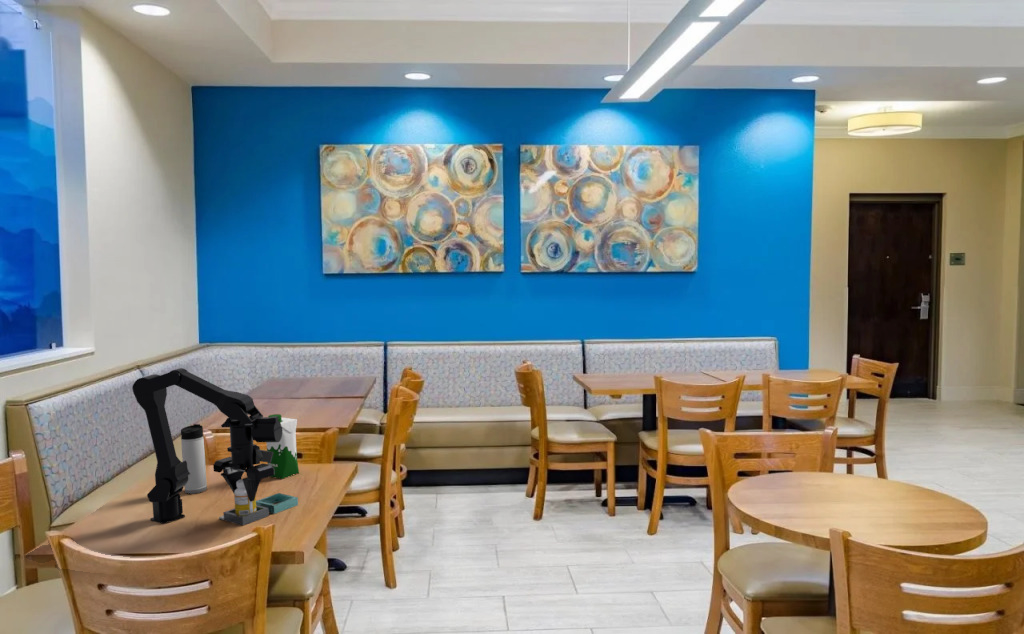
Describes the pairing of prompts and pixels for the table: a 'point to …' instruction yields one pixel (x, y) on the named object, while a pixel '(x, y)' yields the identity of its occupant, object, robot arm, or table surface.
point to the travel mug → (194, 458)
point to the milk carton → (284, 449)
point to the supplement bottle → (243, 500)
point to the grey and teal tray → (262, 509)
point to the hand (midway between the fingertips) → (245, 499)
